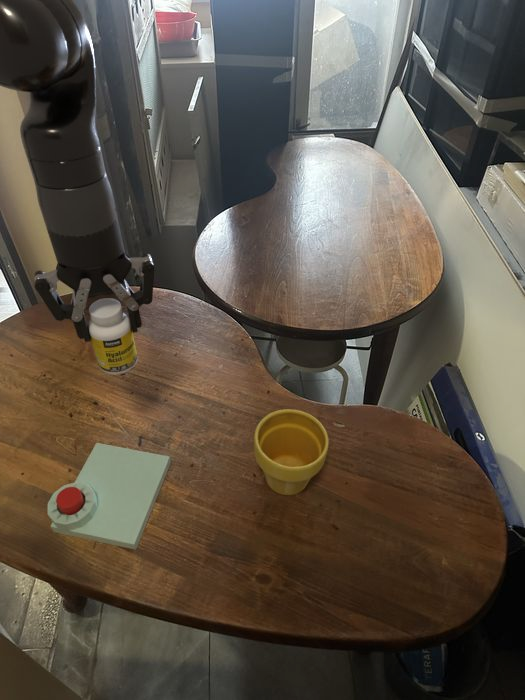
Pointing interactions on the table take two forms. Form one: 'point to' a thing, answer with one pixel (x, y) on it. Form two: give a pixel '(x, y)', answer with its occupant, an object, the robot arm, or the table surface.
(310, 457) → the flower pot
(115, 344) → the supplement bottle
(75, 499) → the button
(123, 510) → the pale green flat piece
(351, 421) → the table surface
